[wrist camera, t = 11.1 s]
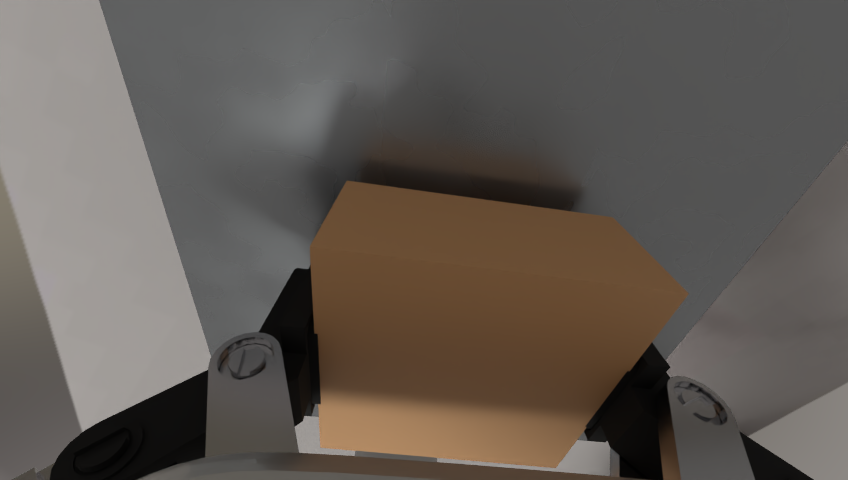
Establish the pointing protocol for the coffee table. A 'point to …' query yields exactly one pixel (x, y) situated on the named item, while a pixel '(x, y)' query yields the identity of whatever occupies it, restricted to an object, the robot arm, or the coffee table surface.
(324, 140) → the grey square socket block
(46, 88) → the coffee table surface
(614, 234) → the tan cardboard box
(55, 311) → the coffee table surface
